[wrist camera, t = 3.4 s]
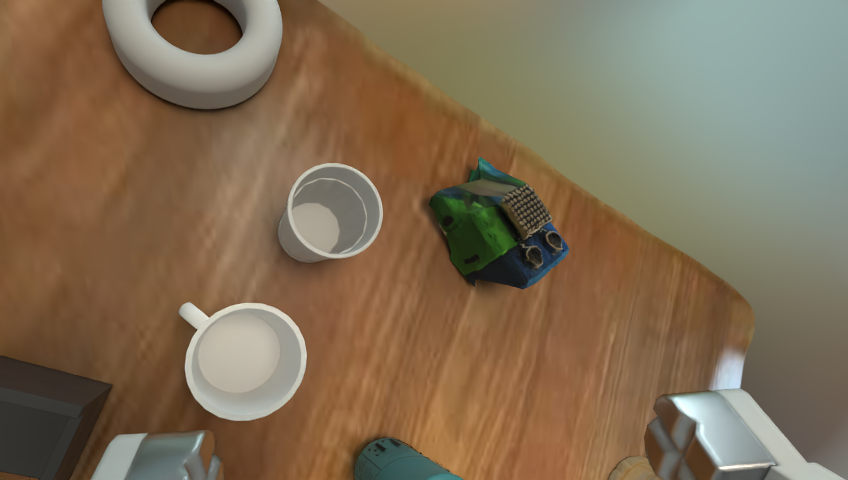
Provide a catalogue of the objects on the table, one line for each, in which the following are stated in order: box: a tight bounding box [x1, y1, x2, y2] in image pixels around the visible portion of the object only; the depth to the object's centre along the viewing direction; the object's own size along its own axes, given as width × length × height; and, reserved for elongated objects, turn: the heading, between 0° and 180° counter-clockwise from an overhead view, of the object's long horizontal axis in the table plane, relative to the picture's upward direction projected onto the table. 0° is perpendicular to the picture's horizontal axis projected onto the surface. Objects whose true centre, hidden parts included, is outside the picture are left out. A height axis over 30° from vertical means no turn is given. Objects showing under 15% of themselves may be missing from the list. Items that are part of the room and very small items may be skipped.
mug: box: [179, 303, 307, 421], centre depth 44 cm, size 11×9×10 cm
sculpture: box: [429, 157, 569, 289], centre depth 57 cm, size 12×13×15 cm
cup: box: [278, 163, 383, 263], centre depth 47 cm, size 8×8×12 cm
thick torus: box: [102, 0, 282, 109], centre depth 48 cm, size 15×15×7 cm
